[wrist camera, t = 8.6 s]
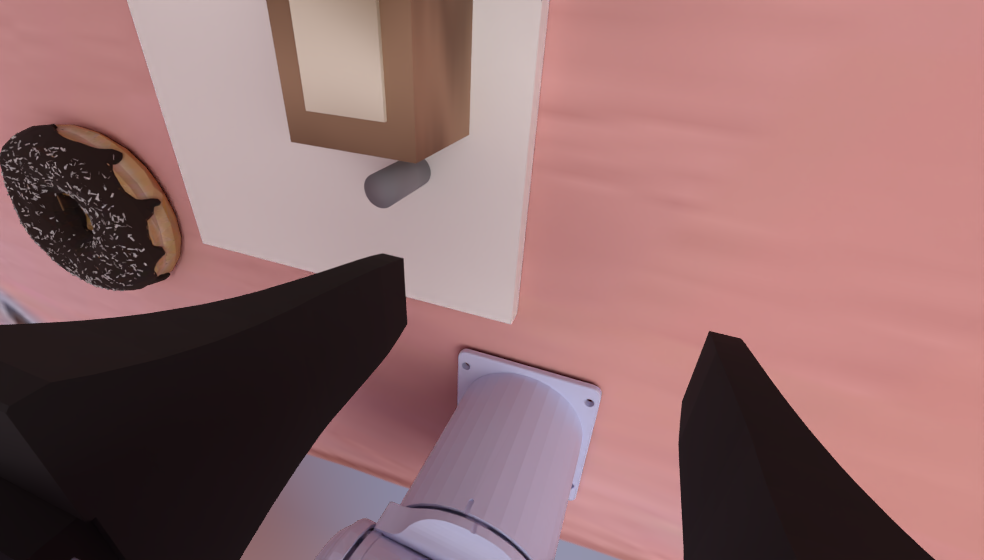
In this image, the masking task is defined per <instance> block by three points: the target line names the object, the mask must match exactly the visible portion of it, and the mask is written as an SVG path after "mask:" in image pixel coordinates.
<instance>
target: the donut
mask: <svg viewBox="0 0 984 560" xmlns="http://www.w3.org/2000/svg"><path fill="white" fill-rule="evenodd" d="M0 165H1V169H2V172H1V173H2V175H3V178H4V182H5V184H4V185H5V187H6V188H7V191H8V193H9V194H7V195H8V196H9V195H10V198H11V200H12V203H13V204H14V206H13V207H15V208H14V209H15V210H16V212H17V214H18V217H19V218H20V222H21V223H20V224H22V226H24V228H25V230H26V231H27V233H28V234H29V235H30V237H31V238H32V239H33V240H34V242H35V243H36V244H38V246H39V247H41V249H43V250H44V251H45V252H46V253H47V255H48V256H50V257H51V259H52V260H53V261H55V262H56V263H57V264H58V265H59V266H61V267H63V268H64V269H65V270H66V271H68V272H70V273H71V274H72V275H74V276H77V277H79V278H80V279H81V280H84V281H85V282H87V283H90V284H92V285H93V286H95V287H100V288H102V289H103V288H105V289H107V290H109V289H111V290H113V291H116V290H119V291H124V290H136V289H142V288H144V287H145V286H147V285H150V284H153V283H156V282H159V281H162V280H165V279H166V278H168V277H169V276H170V273H169V272H171V271H172V270H173V268H174V266H175V264H176V263H177V261H178V259H179V257H180V248H181V235H180V231H179V227H178V223H177V219H176V215H175V213H174V211H173V209H172V207H171V205H170V203H169V202H168V200H167V198H166V196H165V194H164V192H163V191H162V189H161V187H160V185H159V184H158V182H157V181H156V180H155V178H154V177H153V176H152V175H151V173H150V172H149V171H148V169H147V168H146V167H145V166H144V165H143V164H142V163H141V162H140V161H139V160H138V159H137V158H136V157H135V156H134V155H132V154H131V153H130V152H129V151H128V150H127V149H126V148H124V147H123V146H121V145H119V144H117V143H116V142H114V141H112V140H111V139H109V138H107V137H106V136H104V135H102V134H100V133H99V132H96V131H92V130H89V129H86V128H83V127H79V126H76V125H55V124H51V125H40V126H32V127H30V128H27V129H25V130H23V131H21V132H19V133H18V132H17V134H16V135H14V136H13V137H11V139H10V140H9V141H8V142H7V143H6V144H5V145H4V146H3V147H2V150H1V153H0Z"/></svg>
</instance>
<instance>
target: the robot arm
mask: <svg viewBox="0 0 984 560" xmlns="http://www.w3.org/2000/svg"><path fill="white" fill-rule="evenodd" d="M406 325H407V311H406V293H405V275H404V258H400V257H396V256H392V255H388V254H384V253H382V254H377V255H373V256H369V257H365V258H362V259H359V260H356V261H353V262H350V263H346V264H343V265H340V266H337V267H334V268H331V269H328V270H325V271H322V272H320V273H317V274H314V275H311V276H308V277H304V278H301V279H298V280H295V281H291V282H288V283H285V284H281V285H278V286H275V287H271V288H268V289H265V290H261V291H258V292H254V293H250V294H246V295H242V296H238V297H234V298H230V299H225V300H221V301H216V302H212V303H207V304H202V305H197V306H191V307H185V308H178V309H172V310H166V311H160V312H154V313H148V314H140V315H132V316H124V317H115V318H105V319H94V320H83V321H70V322H53V323H33V324H12V325H0V560H240V558H241V556H242V555H243V553H244V551H245V549H246V548H247V546H248V545H249V543H250V541H251V540H252V538H253V536H254V535H255V533H256V531H257V530H258V528H259V526H260V525H261V523H262V521H263V520H264V518H265V517H266V515H267V513H268V512H269V510H270V508H271V507H272V505H273V504H274V502H275V501H276V499H277V497H278V496H279V494H280V493H281V491H282V490H283V488H284V487H285V485H286V484H287V482H288V480H289V479H290V478H291V476H292V474H293V473H294V472H295V470H296V468H297V467H298V466H299V464H300V463H301V461H302V460H303V458H304V457H305V455H306V454H307V453H308V451H309V450H310V448H311V447H312V446H313V444H314V443H315V441H316V440H317V438H318V437H319V436H320V434H321V433H322V432H323V430H324V429H325V428H326V427H327V425H328V424H329V423H330V422H331V420H332V419H333V418H334V417H335V416H336V414H337V413H338V412H339V411H340V410H341V409H342V407H343V406H344V405H345V404H346V403H347V402H348V401H349V399H350V398H351V397H352V396H353V395H354V394H355V392H356V391H357V390H358V389H359V388H360V387H361V386H362V384H363V383H364V382H365V381H366V380H367V379H368V377H369V376H370V375H371V374H372V373H373V372H374V370H375V369H376V368H377V367H378V366H379V365H380V363H381V362H382V361H383V360H384V359H385V357H386V356H387V355H388V353H389V352H390V350H391V349H392V347H393V346H394V344H395V343H396V341H397V340H398V338H399V337H400V335H401V333H402V332H403V330H404V328H405V327H406ZM466 363H468V364H469V365H470V366H469V365H467V364H466ZM601 395H602V391H601V390H600V388H599V387H597V386H595V385H593V384H589V383H586V382H582V381H579V380H576V379H572V378H569V377H565V376H562V375H558V374H555V373H551V372H548V371H544V370H541V369H537V368H534V367H530V366H527V365H523V364H520V363H516V362H513V361H509V360H506V359H502V358H499V357H495V356H492V355H488V354H485V353H481V352H478V351H474V350H471V349H463V350H462V351H461V352H460V353H459V356H458V395H457V408H456V410H455V411H454V413H453V415H452V417H451V418H450V420H449V422H448V423H447V425H446V427H445V429H444V430H443V432H442V434H441V435H440V437H439V439H438V441H437V442H436V444H435V446H434V448H433V449H432V451H431V453H430V454H429V456H428V458H427V460H426V461H425V463H424V465H423V466H422V468H421V470H420V472H419V473H418V475H417V477H416V479H415V480H414V482H413V484H412V485H411V487H410V489H409V491H408V493H407V494H406V496H405V497H404V499H403V501H402V503H401V504H400V505H399V504H396V503H394V502H390V503H389V504H388V506H387V508H386V509H385V511H384V513H383V514H382V516H381V517H380V519H379V521H378V522H377V523H375V522H373V521H371V520H369V519H361V520H358V521H357V522H355V523H354V524H352V525H350V526H348V527H346V528H344V529H342V530H340V531H339V532H338V533H337V534H336V535H335V536H334V537H332V539H331V540H330V541H329V542H328V543H327V544H326V545H325V546H324V547H323V549H322V550H321V551H320V552H319V554H318V555H317V556H316V558H315V559H314V560H554V558H555V554H556V550H557V546H558V541H559V537H560V533H561V529H562V524H563V520H564V516H565V512H566V508H567V503H568V500H574V499H575V498H576V495H577V491H578V487H579V483H580V479H581V475H582V471H583V467H584V463H585V459H586V455H587V451H588V447H589V443H590V439H591V435H592V431H593V427H594V423H595V419H596V416H597V412H598V408H599V404H600V400H601ZM587 399H590V400H592V401H593V402H590V401H588V400H587ZM679 466H680V487H681V506H682V525H683V544H684V560H935V559H934V558H932V557H931V556H930V555H929V554H928V553H927V552H926V551H925V550H924V549H923V548H921V547H920V546H919V545H918V544H917V543H916V542H915V541H914V540H913V539H912V538H911V537H910V536H909V535H908V534H907V533H906V532H904V531H903V530H902V529H901V528H900V527H899V526H898V525H897V524H896V523H895V522H894V521H893V520H892V519H891V518H890V517H889V516H888V515H887V514H886V513H885V512H884V511H883V510H882V509H881V508H880V507H879V506H878V505H877V504H876V503H875V502H874V501H873V500H872V499H871V498H870V497H869V496H868V495H867V494H866V493H865V491H864V490H863V489H862V488H861V487H860V486H859V485H858V484H857V483H856V482H855V481H854V480H853V479H852V478H851V477H850V476H849V475H848V474H847V473H846V471H845V470H844V469H843V468H842V467H841V466H840V465H839V464H838V463H837V461H836V460H835V459H834V458H833V457H832V456H831V455H830V453H829V452H828V451H827V450H826V449H825V448H824V446H823V445H822V444H821V443H820V442H819V441H818V439H817V438H816V437H815V436H814V435H813V434H812V432H811V431H810V430H809V429H808V427H807V426H806V425H805V424H804V422H803V421H802V420H801V419H800V418H799V416H798V415H797V414H796V412H795V411H794V410H793V409H792V407H791V406H790V405H789V403H788V402H787V401H786V399H785V398H784V397H783V396H782V394H781V393H780V391H779V390H778V389H777V387H776V386H775V385H774V383H773V382H772V381H771V379H770V378H769V376H768V375H767V374H766V372H765V371H764V369H763V368H762V367H761V365H760V364H759V362H758V361H757V360H756V358H755V357H754V355H753V354H752V353H751V351H750V350H749V348H748V347H747V346H746V344H745V343H744V342H743V340H742V339H740V338H736V337H732V336H728V335H724V334H719V333H715V332H711V331H709V333H708V336H707V338H706V341H705V344H704V346H703V349H702V351H701V354H700V357H699V359H698V362H697V364H696V367H695V369H694V372H693V375H692V377H691V380H690V382H689V385H688V388H687V390H686V393H685V395H684V398H683V400H682V408H681V419H680V431H679Z"/></svg>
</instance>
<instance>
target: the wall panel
mask: <svg viewBox="0 0 984 560" xmlns="http://www.w3.org/2000/svg"><path fill="white" fill-rule="evenodd" d="M127 2H128V6H129V9H130V12H131V15H132V18H133V22H134V25H135V28H136V31H137V34H138V38H139V41H140V44H141V47H142V50H143V53H144V57H145V60H146V63H147V66H148V69H149V73H150V76H151V79H152V82H153V85H154V89H155V92H156V95H157V98H158V101H159V105H160V108H161V111H162V114H163V117H164V120H165V124H166V127H167V130H168V133H169V136H170V140H171V143H172V146H173V149H174V152H175V156H176V159H177V162H178V165H179V168H180V172H181V175H182V178H183V181H184V184H185V187H186V191H187V194H188V197H189V200H190V203H191V207H192V210H193V213H194V216H195V219H196V223H197V226H198V229H199V232H200V235H201V239H202V242H203V243H204V244H208V245H211V246H215V247H219V248H223V249H227V250H230V251H234V252H238V253H242V254H246V255H249V256H253V257H257V258H261V259H265V260H268V261H272V262H276V263H280V264H284V265H287V266H291V267H295V268H299V269H303V270H306V271H310V272H314V273H320V272H322V271H325V270H328V269H331V268H334V267H337V266H340V265H343V264H346V263H350V262H353V261H356V260H359V259H362V258H365V257H369V256H373V255H377V254H382V253H384V254H388V255H392V256H396V257H400V258H404V275H405V293H406V297H409V298H412V299H416V300H420V301H424V302H428V303H431V304H435V305H439V306H443V307H447V308H450V309H454V310H458V311H462V312H466V313H469V314H473V315H477V316H481V317H485V318H488V319H492V320H496V321H500V322H503V323H507V324H512V322H513V320H514V319H515V317H516V315H517V311H518V301H519V291H520V282H521V272H522V262H523V253H524V243H525V233H526V224H527V214H528V204H529V194H530V185H531V175H532V165H533V156H534V146H535V136H536V127H537V117H538V107H539V97H540V88H541V78H542V68H543V59H544V49H545V39H546V30H547V20H548V10H549V0H473V19H472V55H471V90H470V126H469V135H468V136H466V137H464V138H462V139H460V140H459V141H457V142H455V143H453V144H451V145H449V146H448V147H446V148H444V149H442V150H440V151H438V152H436V153H435V154H433V155H431V156H429V157H427V158H425V159H424V160H422V161H420V162H418V163H410V162H404V161H398V160H393V159H387V158H381V157H375V156H369V155H364V154H358V153H352V152H346V151H340V150H335V149H329V148H323V147H317V146H311V145H306V144H300V143H294V142H291V139H290V134H289V128H288V122H287V117H286V111H285V105H284V99H283V94H282V88H281V82H280V77H279V71H278V65H277V60H276V54H275V48H274V43H273V37H272V31H271V26H270V20H269V14H268V9H267V3H266V0H127Z"/></svg>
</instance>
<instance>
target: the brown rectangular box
mask: <svg viewBox="0 0 984 560" xmlns="http://www.w3.org/2000/svg"><path fill="white" fill-rule="evenodd" d="M266 3H267V9H268V14H269V20H270V26H271V31H272V37H273V43H274V48H275V54H276V60H277V65H278V71H279V77H280V82H281V88H282V94H283V99H284V105H285V111H286V117H287V122H288V128H289V134H290V139H291V142H294V143H300V144H306V145H311V146H317V147H323V148H329V149H335V150H340V151H346V152H352V153H358V154H364V155H369V156H375V157H381V158H387V159H393V160H398V161H404V162H410V163H418V162H420V161H422V160H424V159H425V158H427V157H429V156H431V155H433V154H435V153H436V152H438V151H440V150H442V149H444V148H446V147H448V146H449V145H451V144H453V143H455V142H457V141H459V140H460V139H462V138H464V137H466V136H468V135H469V126H470V90H471V55H472V19H473V0H266Z"/></svg>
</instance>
